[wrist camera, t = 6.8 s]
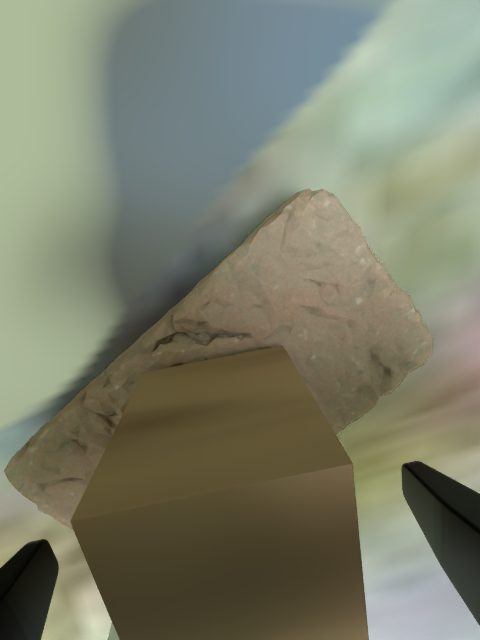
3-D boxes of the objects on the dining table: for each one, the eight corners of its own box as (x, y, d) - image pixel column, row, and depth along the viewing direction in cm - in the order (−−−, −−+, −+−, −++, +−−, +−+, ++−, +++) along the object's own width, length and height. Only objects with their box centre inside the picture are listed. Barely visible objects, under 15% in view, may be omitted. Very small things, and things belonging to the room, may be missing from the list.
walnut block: (300, 461, 13) (369, 649, 7) (175, 486, 13) (144, 699, 7) (282, 345, 11) (352, 463, 6) (143, 372, 11) (70, 521, 6)
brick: (295, 183, 14) (332, 163, 10) (398, 316, 16) (467, 350, 12) (48, 413, 17) (-14, 483, 12) (167, 504, 19) (151, 592, 14)
